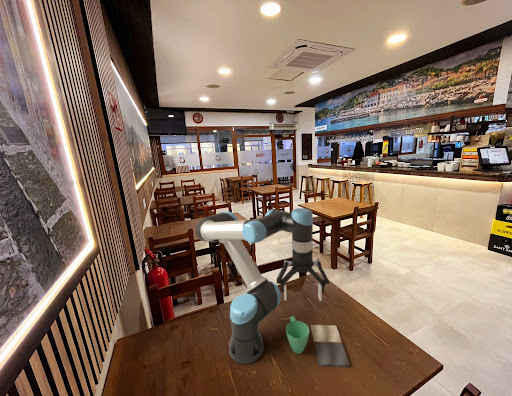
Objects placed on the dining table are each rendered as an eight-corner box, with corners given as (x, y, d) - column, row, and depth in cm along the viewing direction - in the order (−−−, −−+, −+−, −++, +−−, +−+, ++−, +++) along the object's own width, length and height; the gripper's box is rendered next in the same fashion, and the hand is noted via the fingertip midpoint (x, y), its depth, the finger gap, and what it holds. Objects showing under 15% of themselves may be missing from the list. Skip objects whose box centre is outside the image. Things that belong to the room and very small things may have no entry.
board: (318, 366, 88) (318, 363, 88) (310, 327, 108) (310, 324, 107) (349, 367, 87) (349, 364, 87) (336, 327, 107) (336, 324, 106)
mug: (312, 357, 92) (312, 336, 90) (289, 360, 91) (289, 340, 89) (301, 329, 106) (301, 311, 104) (281, 332, 105) (280, 314, 103)
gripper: (269, 254, 81) (271, 304, 86) (338, 253, 79) (337, 305, 84) (269, 245, 89) (271, 292, 93) (333, 244, 86) (332, 292, 91)
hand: (302, 298), depth 88 cm, fingers open, 13 cm apart
